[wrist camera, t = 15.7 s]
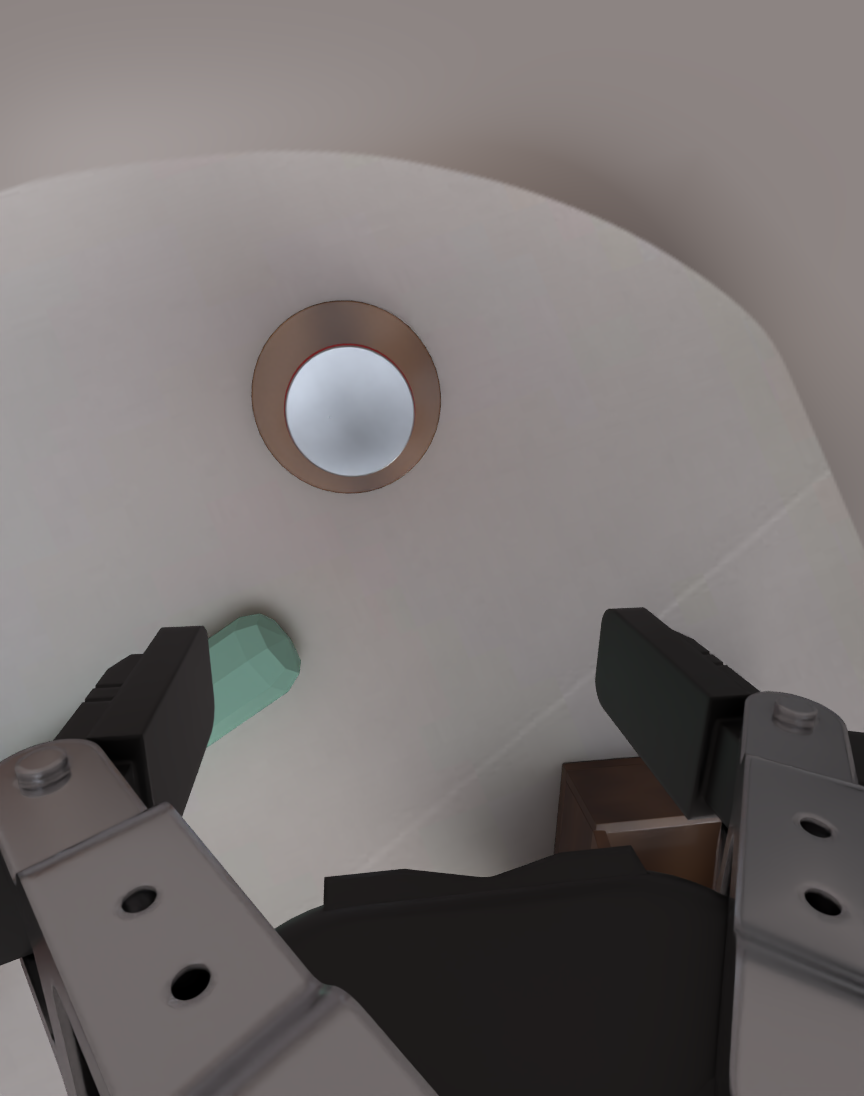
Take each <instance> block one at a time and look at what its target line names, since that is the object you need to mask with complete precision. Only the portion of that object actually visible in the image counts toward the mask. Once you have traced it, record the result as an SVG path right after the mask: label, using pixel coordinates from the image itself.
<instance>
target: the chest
mask: <svg viewBox="0 0 864 1096" xmlns="http://www.w3.org/2000/svg"><path fill="white" fill-rule="evenodd" d="M720 826H721V820H720V818H719V817H716V818H706V819H696V820H688V819H687V818H686V817H685V815H684V814H683V813H682V811H681V810H680V809H679V807H678V806H677V805H676V804H675V802H674V801H673V800H672V798H671V797H670V796H669V794H668V793H667V792H666V790H665V789H664V788H663V786H662V785H661V784H660V782H659V781H658V780H657V779H656V777H655V776H654V775H653V773H652V772H651V771H650V769H649V768H648V767H647V765H646V764H645V763H644V761H643V760H642V759H641V757H634V758H622V759H610V760H598V761H587V762H575V763H563V766H562V777H561V787H560V797H559V807H558V817H557V828H556V838H555V848H554V854H557V853H560V852H569V851H579V850H589V849H591V842H592V834H593V830H605V831H606V833H607V836H608V839H609V842H610V845H611V847H617V846H627V845H631V846H632V848H633V849H634V851H635V853H636V854H637V856H638V858H639V859H640V861H641V863H642V864H643V866H644V868H645V869H646V870H649V871H656V872H660V873H665V874H670V875H674V876H677V877H680V878H684V879H687V880H690V881H693V882H695V883H698V884H700V885H703V886H705V887H708V888H710V889H712V886H713V877H714V868H715V859H716V851H717V842H718V836H719V831H720Z"/></svg>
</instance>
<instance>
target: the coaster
mask: <svg viewBox="0 0 864 1096" xmlns="http://www.w3.org/2000/svg"><path fill="white" fill-rule="evenodd" d="M342 343H354V344H361V345H364V346H368V347H371V348H373V349H376V350H378V351H380V352H381V353H383V354H385V355H386V356H387V357H389V358H390V359H391V360H392V361H393V362H394V363H395V364H396V365H397V366H398V367H399V368H400V369H401V371H402V372H403V373H404V375H405V377H406V378H407V380H408V382H409V384H410V387H411V389H412V393H413V396H414V402H415V422H414V427H413V431H412V434H411V437H410V439H409V441H408V443H407V445H406V447H405V448H404V450H403V451H402V452H401V454H400V455H399V456H398V457H397V458H396V459H395V460H394V461H393V462H392V463H390V464H389V465H388V466H386V467H385V468H383V469H381V470H379V471H377V472H375V473H372V474H369V475H365V476H359V477H346V476H339V475H335V474H331V473H329V472H326V471H324V470H322V469H320V468H318V467H317V466H315V465H314V464H312V463H311V462H310V461H308V460H307V459H306V458H305V457H304V456H303V455H302V454H301V453H300V451H299V450H298V449H297V447H296V446H295V444H294V443H293V441H292V439H291V437H290V435H289V432H288V430H287V427H286V422H285V417H284V399H285V393H286V389H287V386H288V383H289V381H290V379H291V377H292V375H293V373H294V372H295V371H296V369H297V368H298V366H299V365H300V364H301V363H302V362H303V361H304V360H305V359H306V358H308V357H309V356H310V355H311V354H313V353H315V352H316V351H318V350H320V349H322V348H325V347H327V346H331V345H334V344H342ZM251 397H252V407H253V413H254V417H255V422H256V424H257V427H258V430H259V433H260V435H261V437H262V439H263V441H264V443H265V445H266V446H267V448H268V449H269V451H270V452H271V453H272V455H273V456H274V457H275V458H276V460H277V461H278V462H279V463H280V464H281V465H282V466H283V467H284V468H285V469H286V470H288V471H289V472H290V473H291V474H293V475H294V476H296V477H297V478H299V479H300V480H302V481H304V482H306V483H308V484H310V485H311V486H314V487H317V488H320V489H322V490H327V491H331V492H336V493H362V492H368V491H372V490H376V489H379V488H382V487H384V486H386V485H389V484H391V483H393V482H394V481H396V480H398V479H399V478H401V477H402V476H404V475H405V474H406V473H407V472H409V471H410V470H411V469H412V468H413V467H414V466H415V465H416V464H417V463H418V462H419V461H420V459H421V458H422V456H423V455H424V454H425V452H426V451H427V449H428V447H429V445H430V444H431V442H432V439H433V437H434V434H435V432H436V429H437V425H438V421H439V416H440V408H441V392H440V384H439V379H438V375H437V371H436V368H435V366H434V363H433V361H432V358H431V356H430V354H429V352H428V351H427V349H426V347H425V346H424V344H423V343H422V341H421V340H420V339H419V337H418V336H417V335H416V334H415V333H414V332H413V331H412V330H411V329H410V327H409V326H407V325H406V324H405V323H404V322H402V321H401V320H400V319H399V318H397V317H396V316H394V315H392V314H391V313H389V312H387V311H385V310H383V309H381V308H378V307H376V306H373V305H370V304H366V303H363V302H356V301H330V302H324V303H320V304H316V305H313V306H310V307H308V308H306V309H303V310H301V311H299V312H298V313H296V314H295V315H293V316H291V317H290V318H288V319H287V320H286V321H285V322H284V323H283V324H281V325H280V326H279V327H278V328H277V329H276V331H275V332H274V333H273V334H272V335H271V336H270V338H269V339H268V341H267V342H266V344H265V345H264V347H263V349H262V351H261V353H260V355H259V357H258V360H257V363H256V367H255V370H254V375H253V380H252V396H251Z"/></svg>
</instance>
